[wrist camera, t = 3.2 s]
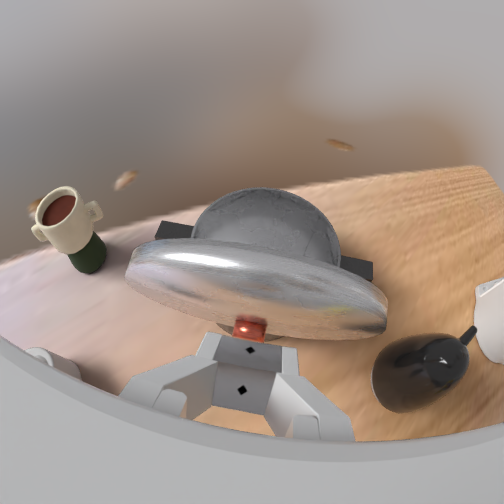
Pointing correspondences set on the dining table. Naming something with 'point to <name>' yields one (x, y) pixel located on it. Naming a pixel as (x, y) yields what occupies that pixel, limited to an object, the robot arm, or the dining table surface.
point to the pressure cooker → (269, 229)
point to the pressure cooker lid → (258, 289)
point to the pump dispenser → (420, 370)
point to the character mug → (71, 228)
